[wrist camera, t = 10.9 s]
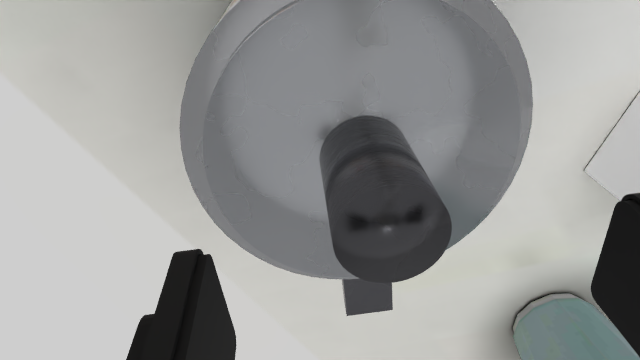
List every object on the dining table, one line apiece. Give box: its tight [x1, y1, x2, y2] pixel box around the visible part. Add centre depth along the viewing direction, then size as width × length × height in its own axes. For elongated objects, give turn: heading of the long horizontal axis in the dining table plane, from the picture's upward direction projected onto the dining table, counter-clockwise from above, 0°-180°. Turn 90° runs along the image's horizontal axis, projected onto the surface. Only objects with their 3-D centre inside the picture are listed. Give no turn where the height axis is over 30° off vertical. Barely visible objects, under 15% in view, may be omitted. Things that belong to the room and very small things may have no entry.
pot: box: [180, 0, 533, 316], centre depth 22 cm, size 20×14×9 cm
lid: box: [202, 0, 521, 283], centre depth 15 cm, size 12×12×6 cm
